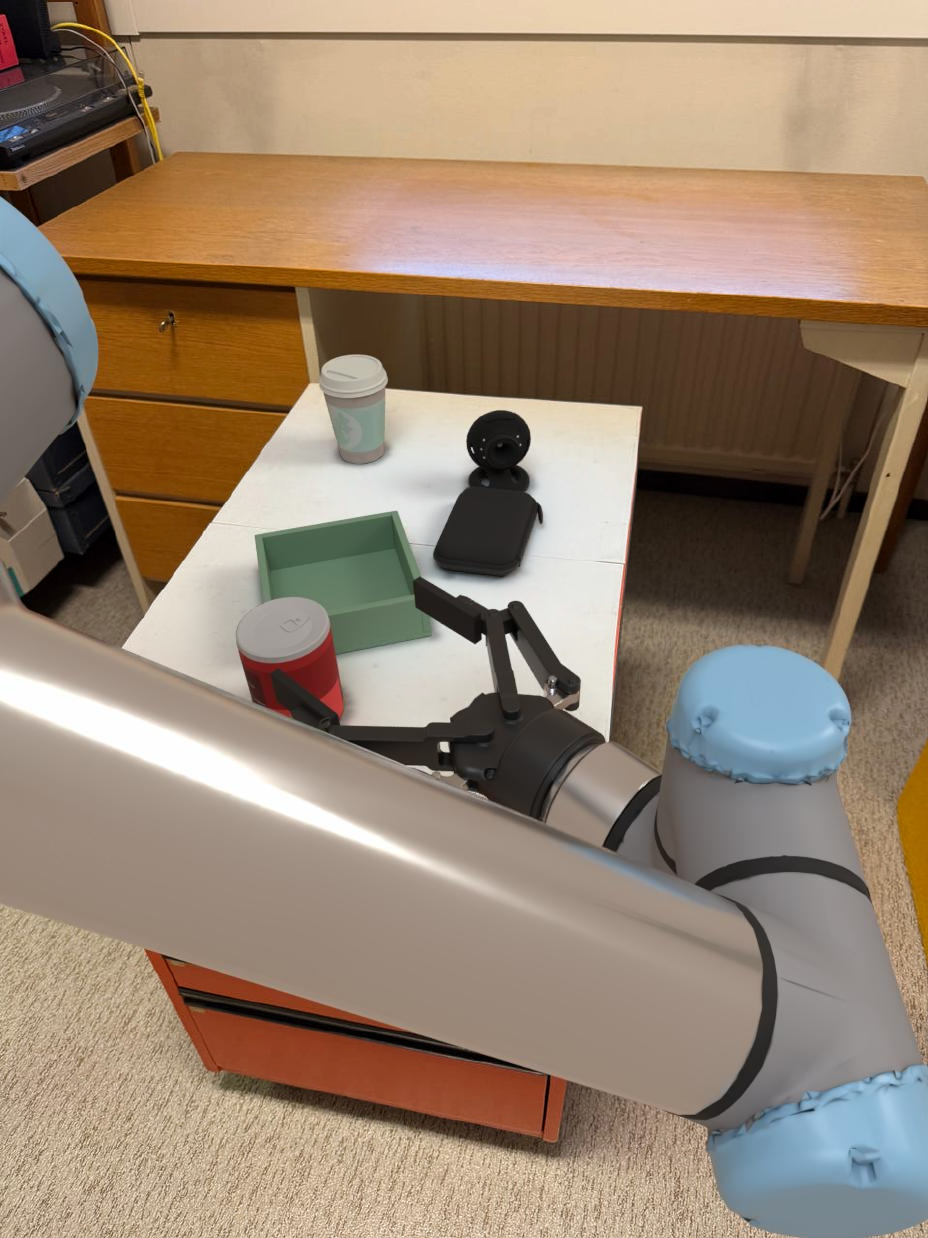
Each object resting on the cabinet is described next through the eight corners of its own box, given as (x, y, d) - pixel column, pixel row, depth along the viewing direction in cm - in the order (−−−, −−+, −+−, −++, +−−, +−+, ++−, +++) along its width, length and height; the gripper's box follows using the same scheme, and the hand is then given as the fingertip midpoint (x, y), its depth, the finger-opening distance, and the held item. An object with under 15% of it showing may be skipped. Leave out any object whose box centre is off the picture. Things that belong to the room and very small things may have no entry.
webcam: (472, 505, 106) (470, 430, 99) (463, 472, 112) (460, 400, 105) (536, 497, 107) (537, 423, 100) (523, 466, 112) (524, 393, 106)
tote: (275, 666, 86) (266, 627, 83) (263, 572, 97) (254, 534, 94) (431, 635, 89) (428, 596, 85) (401, 547, 100) (397, 509, 97)
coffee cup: (321, 446, 118) (308, 361, 110) (381, 430, 120) (372, 346, 113) (342, 476, 112) (329, 388, 104) (404, 459, 115) (396, 373, 107)
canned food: (362, 703, 82) (347, 613, 75) (306, 760, 77) (285, 670, 70) (299, 673, 85) (279, 585, 78) (241, 727, 80) (215, 637, 73)
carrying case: (525, 586, 94) (549, 509, 105) (526, 563, 92) (549, 488, 103) (429, 574, 96) (462, 500, 107) (427, 551, 94) (461, 478, 105)
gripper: (434, 963, 50) (221, 765, 61) (684, 719, 63) (469, 594, 74) (424, 890, 45) (195, 690, 56) (698, 641, 58) (466, 520, 69)
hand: (350, 635), depth 65 cm, fingers open, 13 cm apart
